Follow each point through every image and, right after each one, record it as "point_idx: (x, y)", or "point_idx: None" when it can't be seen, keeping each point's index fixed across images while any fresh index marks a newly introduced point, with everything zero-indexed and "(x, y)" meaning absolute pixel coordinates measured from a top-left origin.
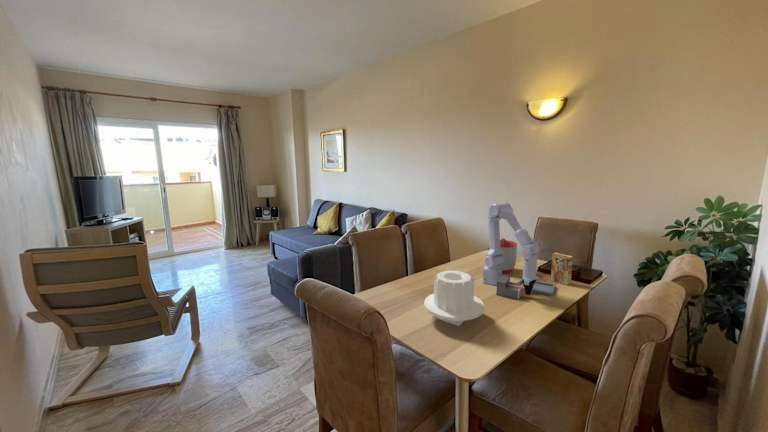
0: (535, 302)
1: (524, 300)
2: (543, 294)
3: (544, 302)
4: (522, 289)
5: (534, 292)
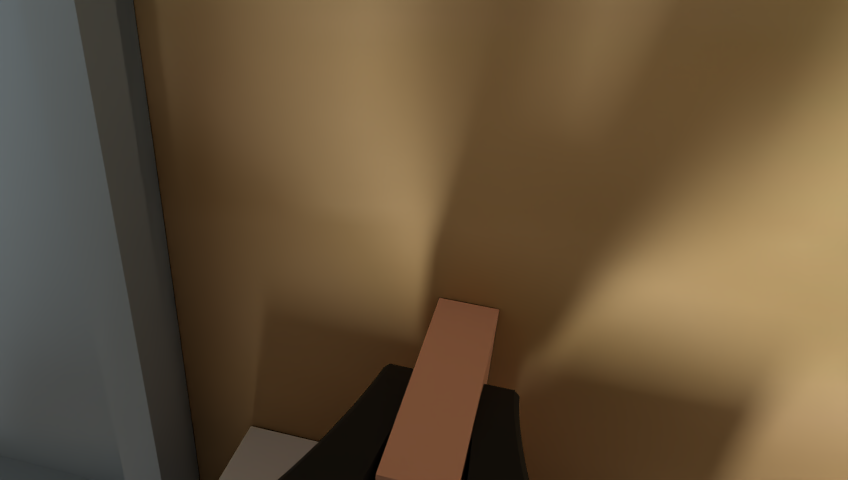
0: (741, 238)
1: (687, 438)
2: (134, 40)
3: (669, 10)
4: None
5: (160, 239)
